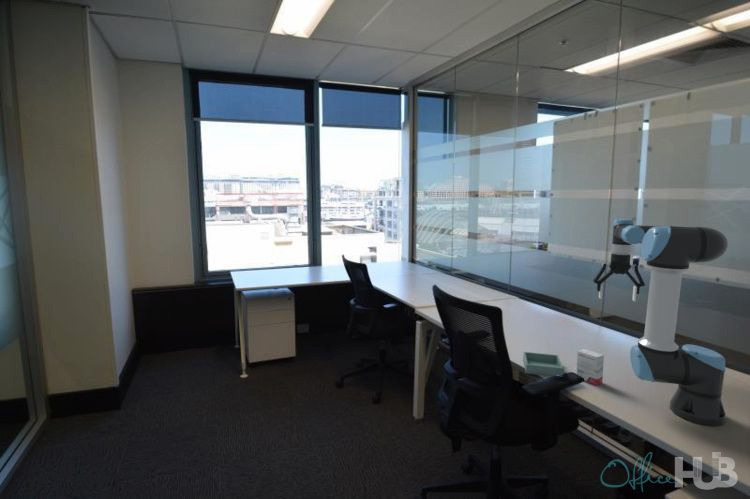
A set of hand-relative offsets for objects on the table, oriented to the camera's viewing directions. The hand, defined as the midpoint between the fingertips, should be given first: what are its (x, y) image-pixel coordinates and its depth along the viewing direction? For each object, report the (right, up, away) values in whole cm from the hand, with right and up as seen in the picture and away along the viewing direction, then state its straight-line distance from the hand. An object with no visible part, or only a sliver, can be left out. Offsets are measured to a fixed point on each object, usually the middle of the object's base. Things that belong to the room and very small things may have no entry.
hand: (616, 299), depth 188 cm
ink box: (-23, -31, -20) cm, 44 cm away
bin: (-38, -29, -9) cm, 49 cm away
